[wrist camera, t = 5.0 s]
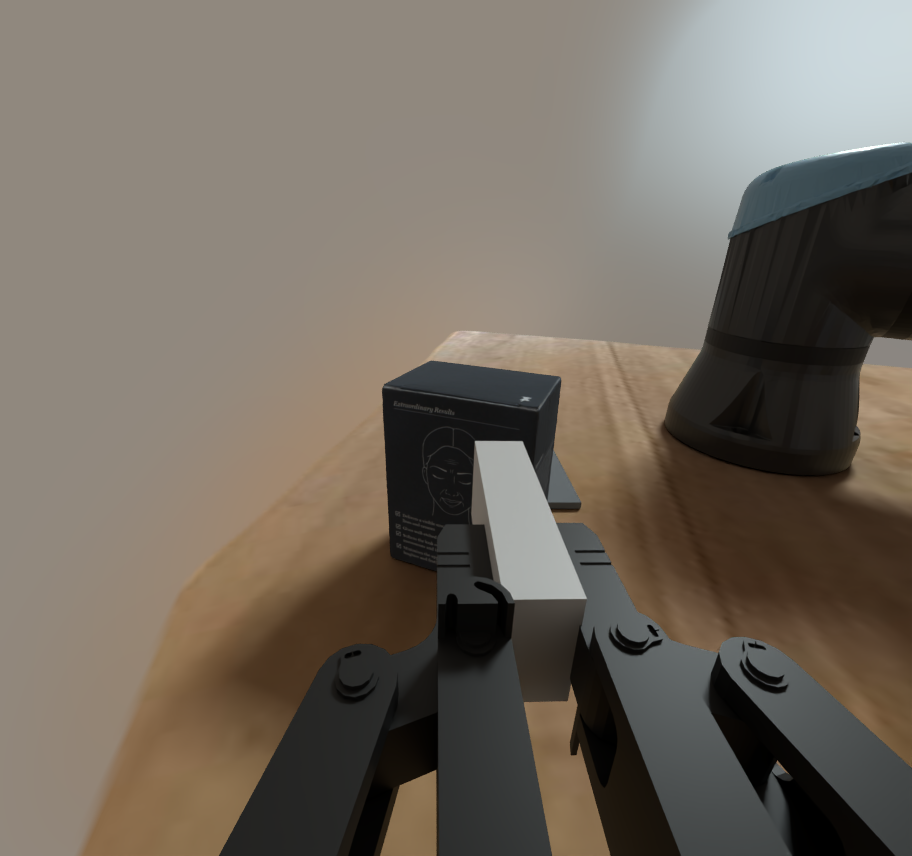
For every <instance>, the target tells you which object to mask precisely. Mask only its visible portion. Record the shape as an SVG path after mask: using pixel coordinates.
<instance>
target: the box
mask: <svg viewBox="0 0 912 856" xmlns="http://www.w3.org/2000/svg"><path fill="white" fill-rule="evenodd" d="M560 388H561V378H560V377H559V376H551V375H542V374H534V373H527V372H519V371H511V370H503V369H495V368H487V367H479V366H471V365H463V364H455V363H447V362H439V361H429V362H427V363H425V364H423V365H421V366H419V367H417V368H415V369H413V370H411V371H409V372H407V373H406V374H403V375H402V376H400V377H398V378H396V379H394V380H392V381H390V382H388V383H386V384H384V386H383V388H382V397H383V421H384V437H385V454H386V478H387V494H388V514H389V535H390V553H391V557H392V558H395V559H398V560H402V561H405V562H408V563H411V564H415V565H418V566H422V567H424V568H428V569H431V570H435V571H437V537H438V535H439V534H440V532H441V531H442V529H443V528H444V526H445V524H472V516H471V511H472V490H473V470H474V449H475V441H523V444H524V446H525V449H526V451H527V454H528V456H529V458H530V461H531V463H532V466H533V468H534V471H535V473H536V476H537V478H538V480H539V483H540V485H541V488H542V490H543V493H544V495H545V498H546V500H548V492H549V483H550V474H551V464H552V457H553V448H554V439H555V431H556V423H557V413H558V405H559V398H560Z"/></svg>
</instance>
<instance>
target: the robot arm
mask: <svg viewBox="0 0 912 856" xmlns="http://www.w3.org/2000/svg"><path fill="white" fill-rule="evenodd" d="M728 239H730V243H729V247H728V251H727V255H726V259H725V263H724V267H723V271H722V275H721V279H720V283H719V287H718V290H717V294H716V298H715V302H714V306H713V309H712V313H711V317H710V321H709V324H708V330H707V333H706V337H705V341H704V344H703V347H702V350H701V352H700V353H699V355H698V357H697V358H696V360H695V361H694V363H693V364H692V366H691V368H690V369H689V371H688V372H687V374H686V375H685V377H684V379H683V380H682V382H681V383H680V385H679V387H678V388H677V390H676V392H675V394H673V396H672V397H671V399H670V402H669V404H668V409H667V413H666V417H665V426H666V428H667V429H668V431H669V432H670V433H671V434H672V435H674V436H675V437H676V438H677V439H679V440H680V441H682V442H684V443H685V444H687V445H689V446H691V447H693V448H695V449H697V450H699V451H701V452H704V453H706V454H709V455H711V456H714V457H717V458H719V459H722V460H725V461H729V462H732V463H735V464H739V465H743V466H747V467H751V468H755V469H760V470H765V471H771V472H778V473H785V474H795V475H826V474H833V473H837V472H841V471H843V470H845V469H847V468H848V467H849V466H850V465H851V463H852V460H853V458H854V456H855V453H856V451H857V449H858V446H859V443H860V430H859V429H858V427H857V426H856V425H857V419H858V412H859V376H860V371H861V367H862V365H863V362H864V359H865V357H866V354H867V352H868V349H869V347H870V345H871V343H872V340H873V338H874V337H884V338H894V339H902V340H903V339H905V340H912V143H907V142H904V143H894V144H886V145H879V146H873V147H866V148H860V149H854V150H848V151H842V152H837V153H832V154H827V155H822V156H817V157H813V158H808V159H804V160H800V161H797V162H792V163H789V164H786V165H782V166H779V167H776V168H774V169H771V170H769V171H766V172H765V173H763V174H761V175H759V176H758V177H757V178H756V179H754V180H753V181H752V182H751V183H750V184H749V186H748V187H747V189H746V190H745V192H744V194H743V197H742V200H741V203H740V207H739V210H738V213H737V216H736V219H735V222H734V226H733V229H732V231H731V232H729V234H728ZM471 516H472V524H445V526H444V528H443V529H442V531H441V532H440V534H439V535H438V537H437V621H436V625H435V627H434V629H433V631H432V633H431V634H430V635H429V636H428V637H427V638H426V639H425V640H424V641H423V642H421V643H420V644H419V645H417V646H415V647H413V648H410V649H408V650H406V651H402V652H399V653H396V654H393V655H390V654H389V653H388V652H387V651H386V650H385V649H383V648H380V647H378V646H375V645H373V644H355V645H352V646H349V647H345V648H342V649H341V650H339V651H338V652H336V653H335V654H333V655H332V656H330V657H329V658H328V659H327V661H326V662H325V663H324V664H323V666H322V667H321V668H320V669H319V671H318V673H317V675H316V677H315V679H314V680H313V682H312V684H311V686H310V688H309V690H308V692H307V693H306V695H305V697H304V699H303V701H302V703H301V705H300V706H299V708H298V710H297V712H296V714H295V716H294V717H293V719H292V721H291V723H290V725H289V727H288V729H287V730H286V732H285V734H284V736H283V738H282V740H281V742H280V743H279V745H278V747H277V749H276V751H275V753H274V755H273V756H272V758H271V760H270V762H269V764H268V766H267V768H266V769H265V771H264V773H263V775H262V777H261V779H260V781H259V782H258V784H257V786H256V788H255V790H254V792H253V794H252V795H251V797H250V799H249V801H248V803H247V805H246V807H245V808H244V810H243V812H242V814H241V816H240V818H239V819H238V821H237V823H236V825H235V827H234V829H233V831H232V832H231V834H230V836H229V838H228V840H227V842H226V844H225V845H224V847H223V849H222V851H221V853H220V855H219V856H380V854H381V850H382V847H383V843H384V839H385V836H386V832H387V829H388V825H389V822H390V818H391V814H392V811H393V807H394V804H395V800H396V797H397V793H398V789H399V786H400V785H402V784H404V783H406V782H409V781H411V780H413V779H416V778H418V777H420V776H423V775H425V774H427V773H430V772H432V771H434V770H436V792H437V856H552V852H551V847H550V842H549V836H548V831H547V826H546V820H545V815H544V810H543V804H542V799H541V794H540V788H539V783H538V778H537V772H536V767H535V762H534V756H533V751H532V745H531V740H530V735H529V729H528V724H527V719H526V713H525V708H524V703H523V702H547V701H568V696H569V691H570V686H571V684H572V687H573V691H574V694H575V697H576V701H577V704H578V706H577V711H576V716H575V721H574V725H573V730H572V735H571V740H570V751H571V755H577V750H578V746H579V743H580V746H581V750H582V754H583V757H584V761H585V764H586V768H587V772H588V775H589V779H590V783H591V786H592V790H593V793H594V797H595V801H596V804H597V808H598V811H599V815H600V819H601V822H602V826H603V829H604V833H605V837H606V840H607V844H608V848H609V851H610V855H611V856H912V768H911V767H910V766H909V765H908V764H907V763H906V762H904V761H903V760H902V759H901V758H900V757H899V756H898V755H897V754H896V753H895V752H893V751H892V750H891V749H890V748H889V747H888V746H887V745H886V744H885V743H884V742H882V741H881V740H880V739H879V738H878V737H877V736H876V735H875V734H874V733H872V732H871V731H870V730H869V729H868V728H867V727H866V726H865V725H864V724H863V723H861V722H860V721H859V720H858V719H857V718H856V717H855V716H854V715H853V714H852V713H850V712H849V711H848V710H847V709H846V708H845V707H844V706H843V705H842V704H841V703H839V702H838V701H837V700H836V699H835V698H834V697H833V696H832V695H831V694H830V693H828V692H827V691H826V690H825V689H824V688H823V687H822V686H821V685H820V684H819V683H817V682H816V681H815V680H814V679H813V678H812V677H811V676H810V675H809V674H807V673H806V672H805V671H804V670H803V669H802V668H801V667H800V666H799V665H798V664H796V663H795V662H794V661H793V660H792V659H790V658H789V657H788V656H786V655H785V654H784V653H782V652H781V651H780V650H778V649H777V648H775V647H773V646H770V645H768V644H766V643H764V642H762V641H760V640H755V639H751V638H747V637H732V638H730V639H728V640H726V641H724V642H723V643H722V645H721V647H720V650H719V653H716V652H712V651H708V650H704V649H700V648H696V647H692V646H688V645H684V644H681V643H678V642H675V641H672V640H670V639H669V638H668V636H667V635H666V634H665V632H664V631H663V630H662V629H661V627H660V626H659V625H658V624H657V623H655V622H654V621H653V620H651V619H650V618H648V617H647V616H646V615H643V614H641V613H638V612H637V610H636V608H635V606H634V605H633V603H632V601H631V599H630V597H629V595H628V593H627V591H626V589H625V587H624V586H623V584H622V582H621V580H620V578H619V576H618V574H617V572H616V570H615V569H614V567H613V565H611V561H610V559H609V557H608V555H607V553H605V550H604V548H603V546H602V544H601V542H600V540H599V538H598V536H597V535H596V534H595V533H594V532H592V531H591V530H590V529H589V528H588V527H587V526H585V525H584V524H583V523H556V522H555V520H554V517H553V515H552V512H551V510H550V507H549V505H548V502H547V500H546V498H545V495H544V493H543V490H542V488H541V485H540V483H539V480H538V478H537V476H536V473H535V471H534V468H533V466H532V463H531V461H530V458H529V456H528V454H527V451H526V449H525V446H524V444H523V441H475V449H474V470H473V490H472V511H471ZM777 760H778V762H779V763H780V764H781V765H782V766H783V767H784V768H785V770H786V771H787V772H788V773H789V774H790V775H789V774H788V773H786V772H785V771H784V770H783V769H782V768H781V767H780V766H779V765H778V764H777V763H776V762H777Z"/></svg>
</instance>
